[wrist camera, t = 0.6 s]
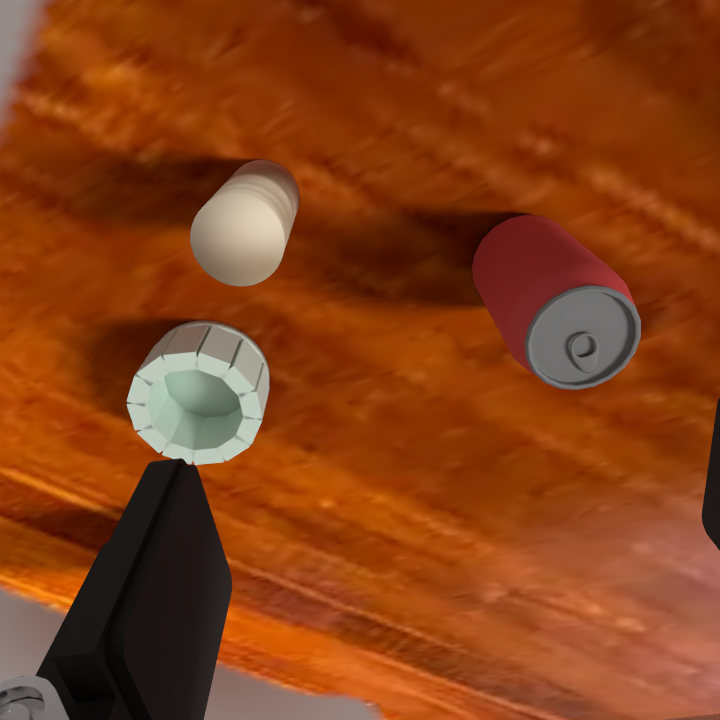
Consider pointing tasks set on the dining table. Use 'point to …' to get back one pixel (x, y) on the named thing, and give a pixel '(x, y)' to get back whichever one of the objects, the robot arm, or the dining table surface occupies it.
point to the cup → (200, 393)
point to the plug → (246, 224)
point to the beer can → (555, 303)
